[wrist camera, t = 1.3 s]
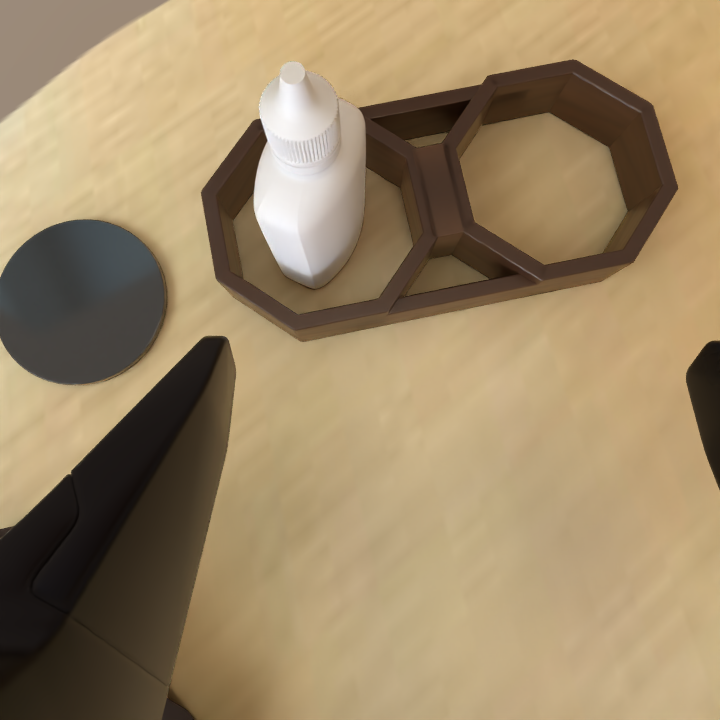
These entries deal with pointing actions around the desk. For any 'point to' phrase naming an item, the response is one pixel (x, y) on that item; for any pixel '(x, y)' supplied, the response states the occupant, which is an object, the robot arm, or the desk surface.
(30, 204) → the desk surface
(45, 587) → the robot arm
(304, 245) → the eye dropper bottle
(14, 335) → the coaster
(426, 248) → the rack
